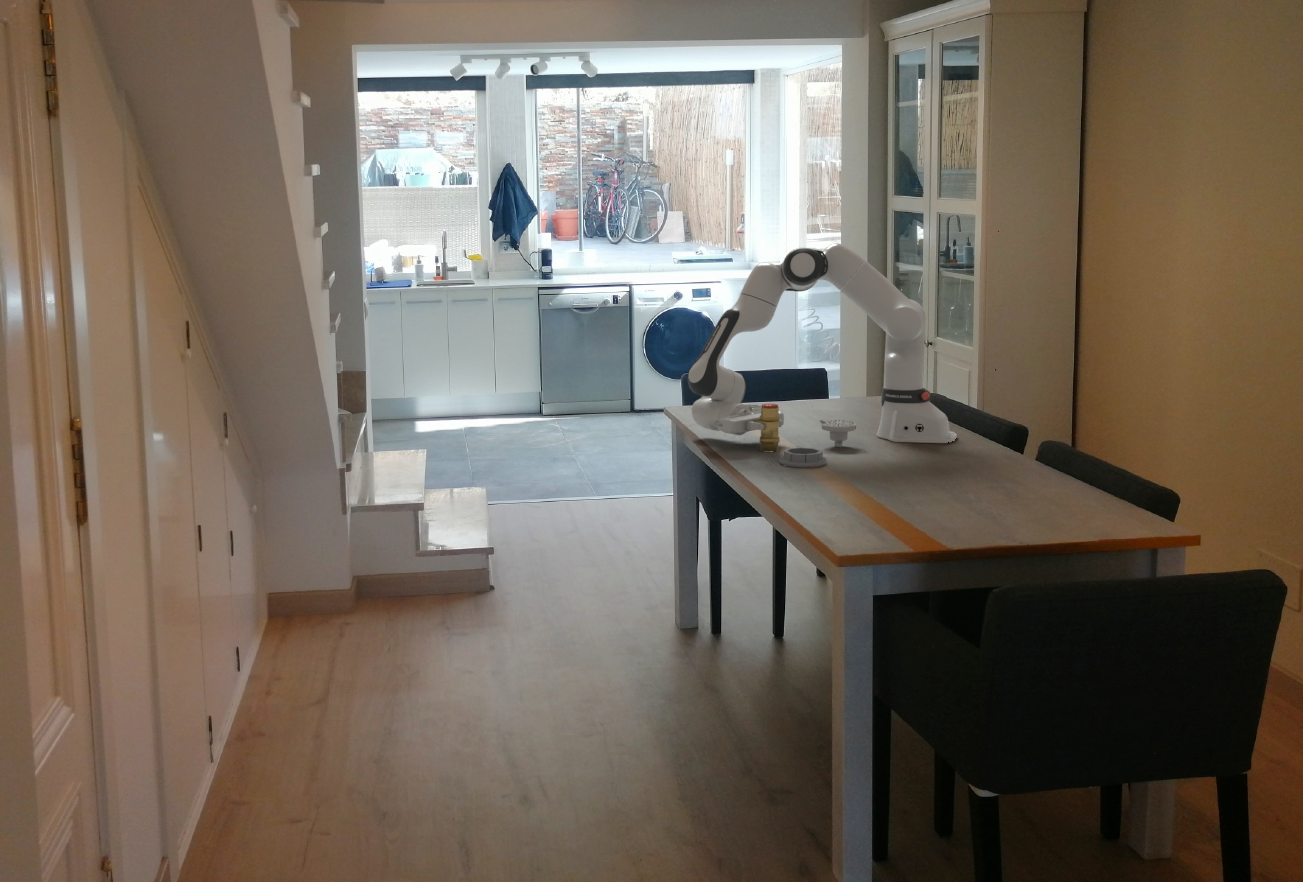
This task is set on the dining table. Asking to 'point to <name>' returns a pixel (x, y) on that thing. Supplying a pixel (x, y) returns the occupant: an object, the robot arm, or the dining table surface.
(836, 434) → the showerhead
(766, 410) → the cylinder
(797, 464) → the flange fitting
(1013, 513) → the dining table surface
